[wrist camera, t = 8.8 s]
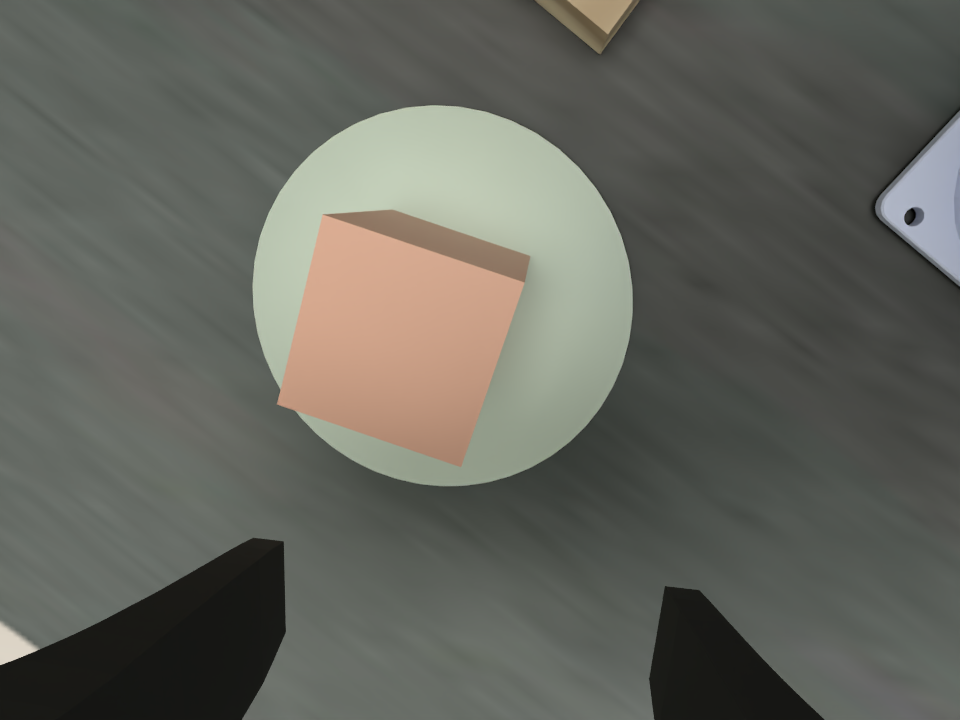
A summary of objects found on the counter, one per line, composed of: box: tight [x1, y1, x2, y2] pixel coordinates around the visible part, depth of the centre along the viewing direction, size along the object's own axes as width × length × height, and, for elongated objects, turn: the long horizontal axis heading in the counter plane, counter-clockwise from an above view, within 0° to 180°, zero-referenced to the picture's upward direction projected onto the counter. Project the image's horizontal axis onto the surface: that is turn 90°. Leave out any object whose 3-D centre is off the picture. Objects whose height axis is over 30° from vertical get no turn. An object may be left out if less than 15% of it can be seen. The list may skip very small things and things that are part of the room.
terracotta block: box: [277, 210, 530, 467], centre depth 16 cm, size 4×4×6 cm
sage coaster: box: [253, 105, 633, 486], centre depth 19 cm, size 12×12×1 cm
